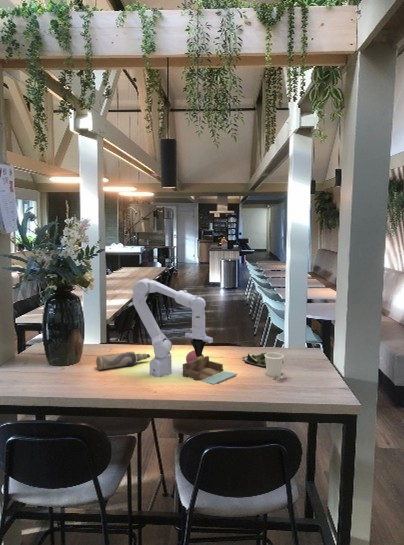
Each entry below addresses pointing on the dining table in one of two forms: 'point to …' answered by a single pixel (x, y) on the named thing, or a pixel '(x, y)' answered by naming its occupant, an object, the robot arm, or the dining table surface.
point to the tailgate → (219, 378)
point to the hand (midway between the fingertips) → (198, 356)
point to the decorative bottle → (119, 360)
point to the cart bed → (201, 368)
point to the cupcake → (192, 356)
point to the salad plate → (256, 360)
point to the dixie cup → (274, 364)
